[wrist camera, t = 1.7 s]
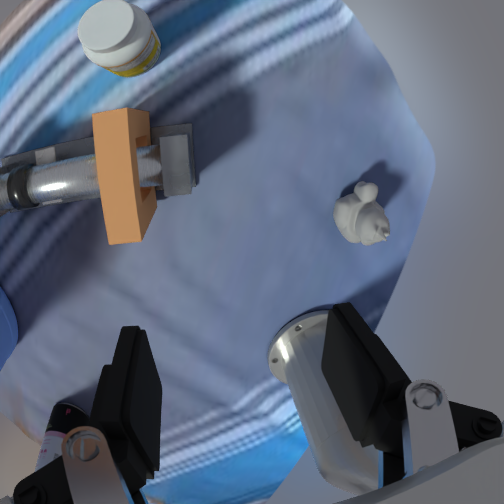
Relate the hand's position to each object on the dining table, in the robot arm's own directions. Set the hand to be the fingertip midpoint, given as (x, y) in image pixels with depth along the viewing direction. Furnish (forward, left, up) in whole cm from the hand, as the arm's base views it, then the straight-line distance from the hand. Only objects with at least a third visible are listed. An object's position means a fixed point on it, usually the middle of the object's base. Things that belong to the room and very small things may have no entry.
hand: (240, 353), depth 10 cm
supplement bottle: (+7, -15, -22) cm, 27 cm away
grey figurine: (-15, +2, -22) cm, 26 cm away
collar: (+6, -4, -22) cm, 23 cm away
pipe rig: (+12, -4, -22) cm, 25 cm away
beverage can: (+26, +32, -22) cm, 47 cm away
